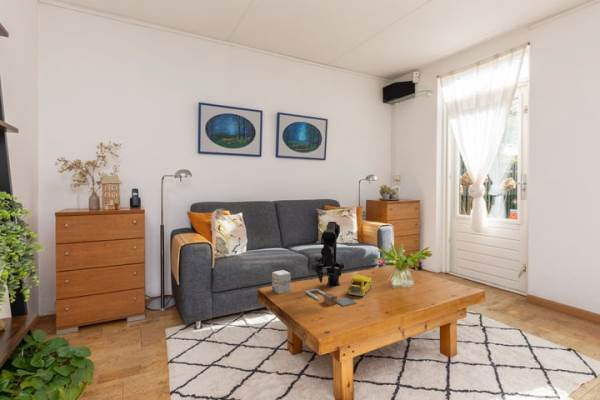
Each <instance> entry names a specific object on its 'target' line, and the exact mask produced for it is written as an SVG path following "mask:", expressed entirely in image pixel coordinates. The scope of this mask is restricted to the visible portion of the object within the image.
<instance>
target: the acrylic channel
mask: <svg viewBox="0 0 600 400" xmlns="http://www.w3.org/2000/svg"><path fill="white" fill-rule="evenodd" d="M316 293H319V294H321V295H322V296H324V294H326V293H325V292H324V291H322V290H320V289H319V288H315V289H314V288H313V289H308V290H305V294H307V295H309V296H310V297H312V298H313V299H315V300H316V301H319V300H320V298H319V297H318V296H316V295H315V294H316Z"/></svg>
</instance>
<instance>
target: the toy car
mask: <svg viewBox="0 0 600 400" xmlns="http://www.w3.org/2000/svg"><path fill="white" fill-rule="evenodd" d="M372 279H373V278H371V277H367V276H366V275H361V274H354V275H353V276H352V277H351V279H350V284H349V285H348V287H347V288H348V289H347V294H349V295H353V296H358V297H359V296H360V297H365V295H366V293H367V292H368V291H369V289H370V288H371V286H372V285H373V284H372V283H373V281H372Z"/></svg>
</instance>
